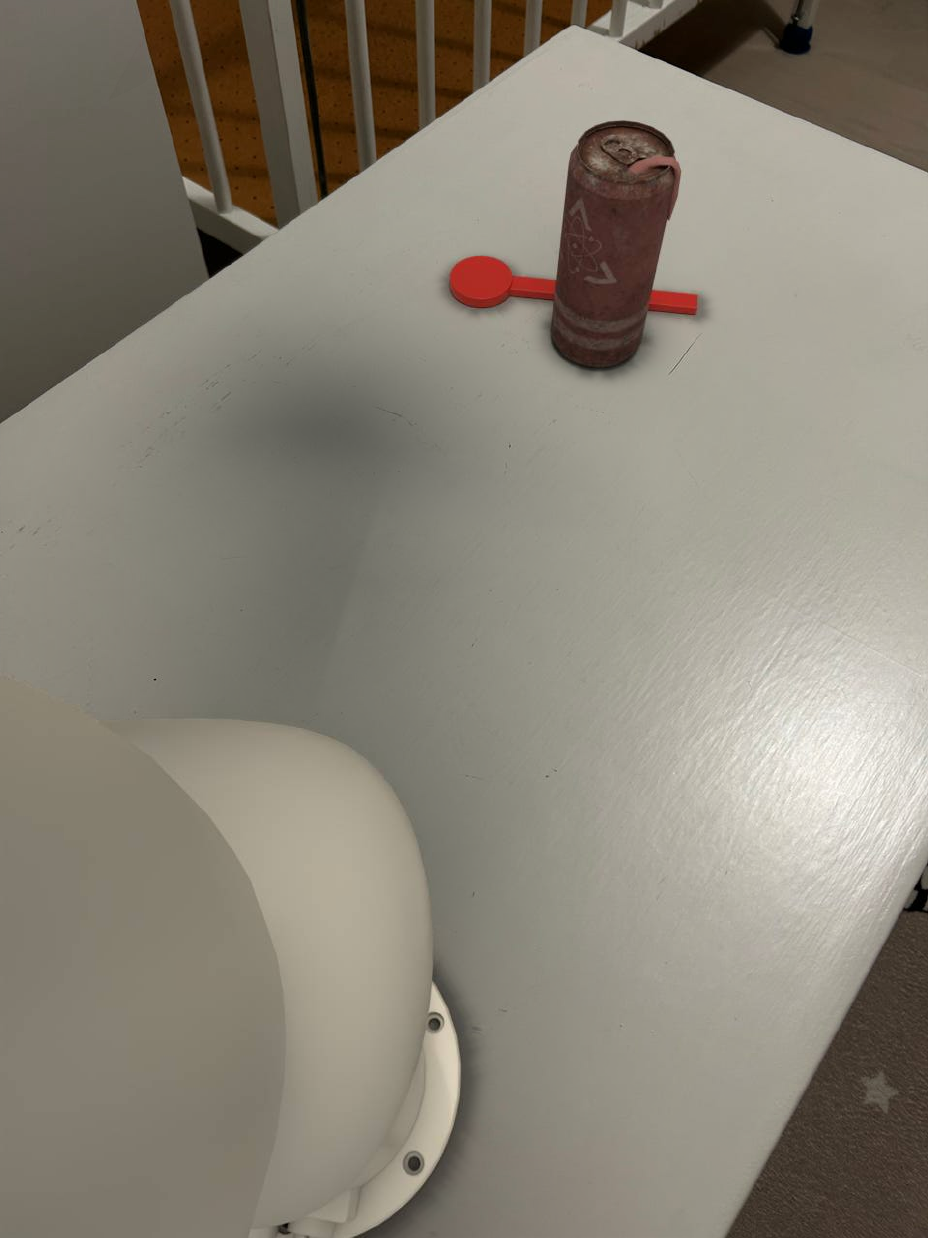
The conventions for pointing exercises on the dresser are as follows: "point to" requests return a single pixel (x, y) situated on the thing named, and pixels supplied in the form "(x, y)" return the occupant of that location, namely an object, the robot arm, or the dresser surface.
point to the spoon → (532, 287)
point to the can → (611, 239)
